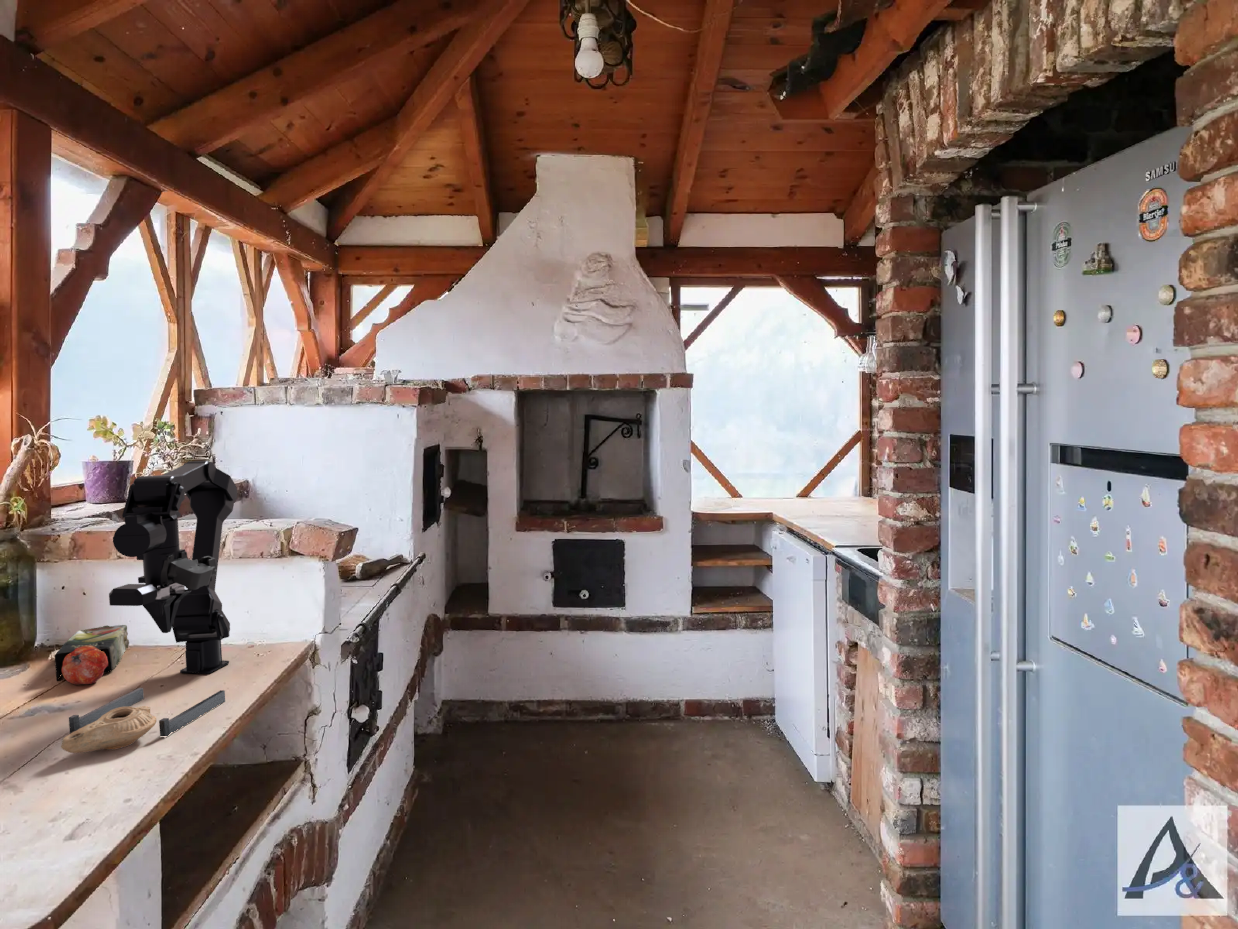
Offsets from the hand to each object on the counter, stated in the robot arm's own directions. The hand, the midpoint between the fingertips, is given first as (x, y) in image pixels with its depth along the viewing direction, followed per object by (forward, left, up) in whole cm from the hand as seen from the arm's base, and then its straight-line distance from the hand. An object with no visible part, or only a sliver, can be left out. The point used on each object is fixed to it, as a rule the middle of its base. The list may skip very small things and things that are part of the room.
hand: (166, 632), depth 137 cm
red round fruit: (-6, -22, -12) cm, 26 cm away
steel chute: (+9, +3, -12) cm, 15 cm away
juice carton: (-17, -30, -12) cm, 36 cm away
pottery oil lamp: (+20, +5, -12) cm, 24 cm away
